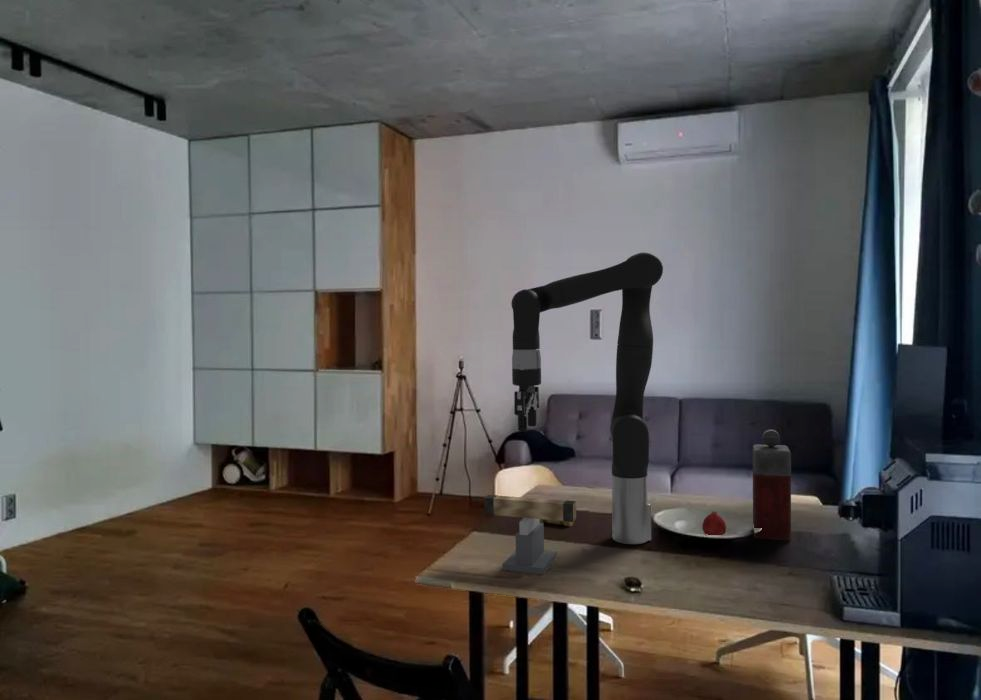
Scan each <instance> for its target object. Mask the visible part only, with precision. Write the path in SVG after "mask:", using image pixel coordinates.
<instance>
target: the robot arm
mask: <svg viewBox="0 0 981 700" xmlns="http://www.w3.org/2000/svg"><path fill="white" fill-rule="evenodd" d="M663 272H664V265H663V263H662V261H661V259H660V258H659V257H658V256H657V255H655V254H653V253H650V252H638V253H636V254H632V255H631V256H629V257H627V259H626V260H624V261H623V262H620V263H618V264H615V265H612V266H610V267H609V266H608V267H606V268H603V269H599V270H595V271H590V272H586V273H581V274H576V275H572V276H569V277H565V278H560V279H557V280H554V281H552V282H548V283H547V284H545V285H540V286H535V287H532V288H528V289H526V288H525V289H521V290H519V291H517V292H516V293H515V294H514V295H513V296H512V299H511V302H510V303H511V309H512V317H513V319H512V320H513V331H512V354H511V355H512V356H511V367H512V368H511V371H512V372H511V376H512V377H511V378H512V381H511V382H512V385H514V386H518V391H517V390H516V391H514V401H513V402H514V404H513V405H514V406H513V407H514V409H513V410H514V412H513V414H514V416H516V417H517V430H518V432H527V431H528V427H536V426H537V422H538V421H537V412H538V410H539V409H540V388H539V385H540V386H541V384H542V361H541V360H542V357H541V356H542V355H541V350H540V349H541V348H540V346H541V344H540V327H539V326H540V315H541V313H542V312H546V311H548V310H553V309H561V308H563V307H568V306H571V305H576V304H579V303H582V302H584V301H587V300H590V299H594V298H596V297H600V296H602V295H603V296H604V295H605V294H609V293H613V292H616V291H621V294H622V295H621V296H622V297H621V298H622V299H621V302H622V303H621V304H622V305H621V313H620V320H619V325H618V326H619V327H618V334H617V335H618V336H617V345H616V347H617V348H616V357H615V364H616V365H615V389H616V390H615V391H616V392H615V400H614V405H613V407H614V408H613V412H612V417H611V422H610V427H609V428H610V429H609V431H610V432H609V433H610V435H611V438H612V463H611V505H612V508H611V509H612V510H611V514H612V515H611V517H612V523H611V524H612V531H611V533H612V534H611V535H612V540H613V541H615V542H617V543H620V544H625V545H641V544H644V543H647V542H648V541H649V542H650V541H652V505H651V504H650V503H649V502H648V501H649V500H648V498H649V496H648V493H649V492H648V468H649V460H650V456H649V455H650V453H649V452H650V433H649V429H648V426H647V424H646V422H645V421H644V395H645V390H646V387H647V383H648V380H649V377H650V373H651V368H652V364H653V363H652V362H653V353H654V334H653V333H654V331H653V327H652V320H651V313H650V309H651V307H650V306H651V296H652V290H653V289H652V288H653V286H655V285H656V284H657V283H658V282H659V281H660V280H661V278H662V276H663V274H664V273H663Z"/></svg>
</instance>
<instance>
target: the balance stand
mask: <svg viewBox="0 0 981 700" xmlns="http://www.w3.org/2000/svg"><path fill="white" fill-rule="evenodd" d="M518 523H519V526H518V527H519V530H518V531H517V532H515V550H514V552H512V554H510V555H509V557H508V558H507V559H506V560H505V561H503V563H502V571H506V570H510V571H509V572H515V571H516V573H525V574H534V575H543V576H544V575H545V574H546V573H547V571H548V570H549V569H550V567H551V566H552V565H553V563H554V562H555V560H557V558H558V551H555V550H546V549H545V534H544V533H545V532H544V531H545V527H544V526H545V525H544V524H545V523H540V519H535V518H523V517H522V519H521V520H519V522H518Z"/></svg>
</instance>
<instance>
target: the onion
mask: <svg viewBox="0 0 981 700" xmlns="http://www.w3.org/2000/svg"><path fill="white" fill-rule="evenodd" d="M702 531H703V533H704V534H705V535H706V534H708V535H723V534H724V535H725V533H726V531H727V525H726V521H725V520H724V519H723V518H722V517H721V516H720V515H719V514H718V512H717V510H713V511H712V512H711V513H710V514H708V515H707V516H706V517H705V518H704V519H703V522H702ZM724 535H723V536H724Z"/></svg>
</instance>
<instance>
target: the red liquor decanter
mask: <svg viewBox="0 0 981 700" xmlns="http://www.w3.org/2000/svg"><path fill="white" fill-rule="evenodd" d="M762 441H763V443H764V444H757V443H756V444H753V446H752V525H753V524H754V528H762V530H761V531H760V532H758V533H756V534H755V535H754V534H753V537H754V539H763V540H775V541H788V542H789V541H790V542H791V541H792V460H791V459H792V453H791V451H790V449H789V447H788V446H787V445H785V444H784V445H783V444H779V443H780V442H781V437H780V434H779V432H777V430H775V429H767V430H765V431H764V432H763V434H762Z"/></svg>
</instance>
